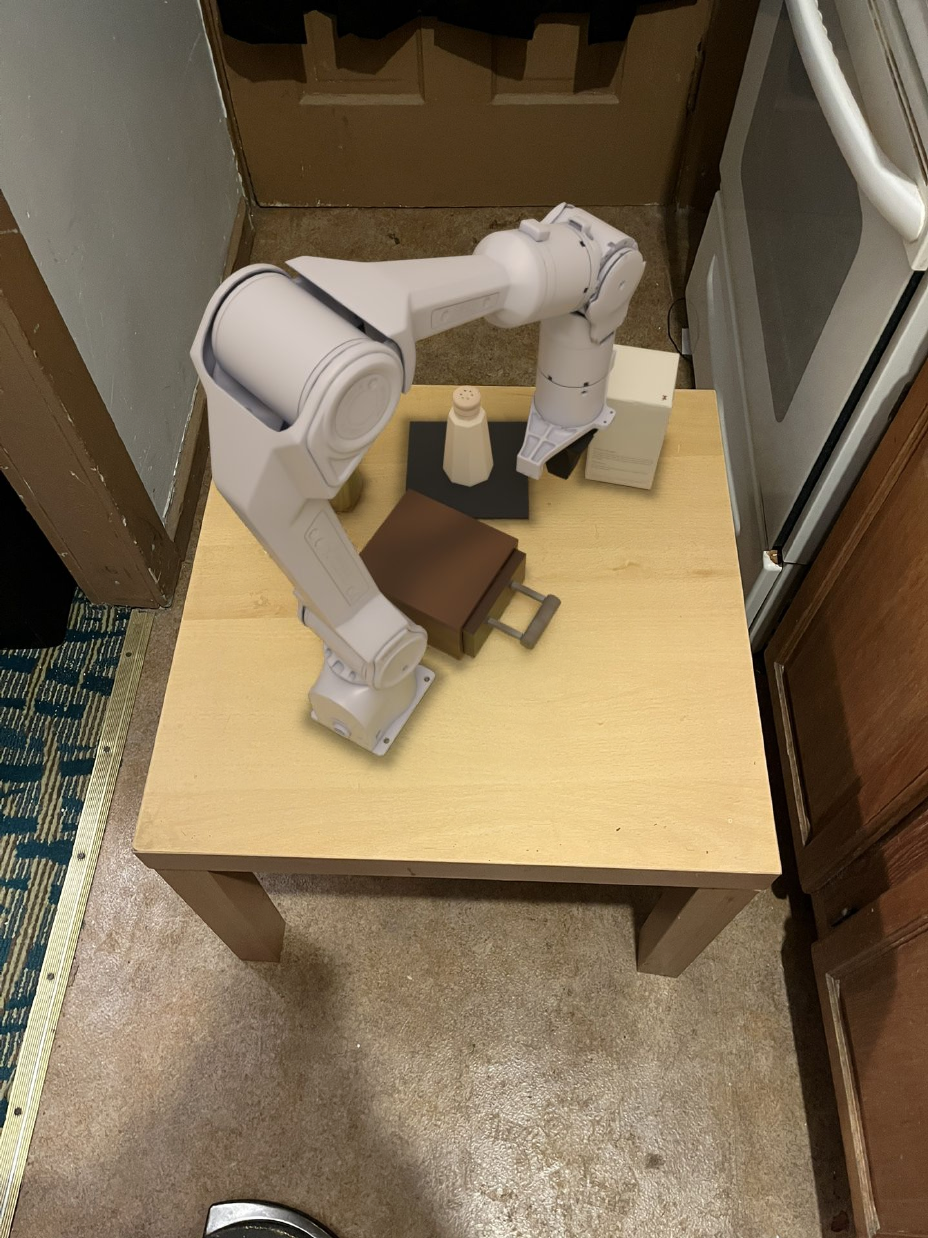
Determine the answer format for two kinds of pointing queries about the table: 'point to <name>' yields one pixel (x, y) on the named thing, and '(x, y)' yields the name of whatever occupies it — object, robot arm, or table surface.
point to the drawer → (497, 602)
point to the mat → (480, 501)
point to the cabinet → (435, 565)
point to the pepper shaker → (467, 439)
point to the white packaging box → (634, 417)
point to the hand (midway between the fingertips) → (560, 471)
